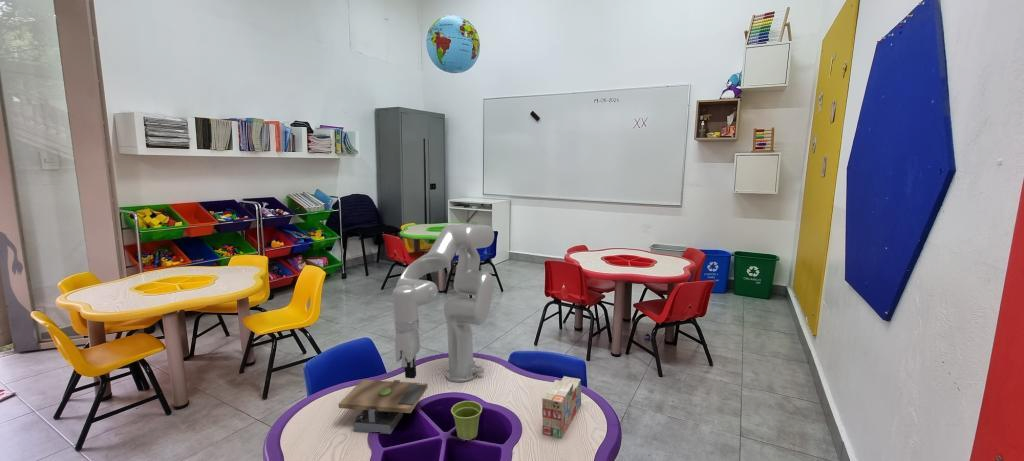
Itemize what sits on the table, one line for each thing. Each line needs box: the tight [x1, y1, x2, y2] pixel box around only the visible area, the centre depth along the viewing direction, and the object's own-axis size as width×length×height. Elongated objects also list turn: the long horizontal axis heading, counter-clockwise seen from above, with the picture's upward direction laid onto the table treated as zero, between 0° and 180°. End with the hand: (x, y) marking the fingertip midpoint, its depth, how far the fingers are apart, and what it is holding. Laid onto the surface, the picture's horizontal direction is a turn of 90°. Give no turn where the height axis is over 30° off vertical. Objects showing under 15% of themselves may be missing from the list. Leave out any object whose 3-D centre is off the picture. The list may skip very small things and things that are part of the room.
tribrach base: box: [353, 379, 404, 435], centre depth 149 cm, size 12×21×7 cm, turn 172°
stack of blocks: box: [541, 375, 582, 439], centre depth 145 cm, size 21×6×12 cm, turn 155°
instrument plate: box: [338, 379, 429, 414], centre depth 149 cm, size 24×16×4 cm, turn 82°
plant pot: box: [450, 400, 483, 441], centre depth 137 cm, size 9×9×9 cm
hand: (410, 376), depth 147 cm, fingers closed
